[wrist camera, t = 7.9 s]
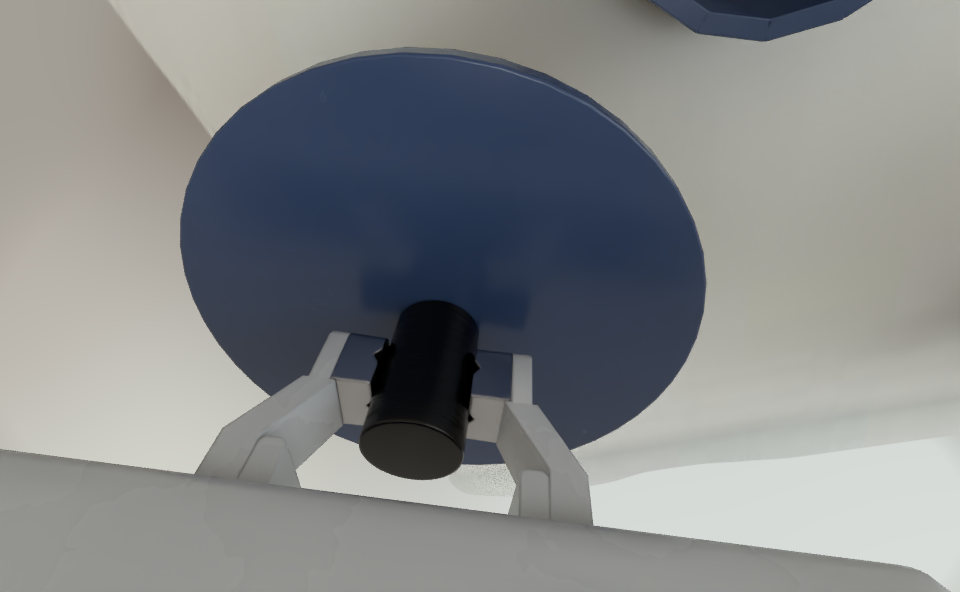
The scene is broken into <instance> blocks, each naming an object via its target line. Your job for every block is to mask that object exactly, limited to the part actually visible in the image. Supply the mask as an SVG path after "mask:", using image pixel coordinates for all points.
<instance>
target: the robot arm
mask: <svg viewBox="0 0 960 592" xmlns="http://www.w3.org/2000/svg"><path fill="white" fill-rule="evenodd" d="M388 349H389V339H387V338H383V337H376V336H369V335H363V334H356V333H347V332H341V331H334V330H333V331H332V332H331V333H330V334H329V335H328V337H327V339H326V341H325V343H324V345H323V347H322V349H321V351H320V353H319V355H318V358H317V360H316V362H315V364H314V366H313V368H312V370H311V372H310V374H309V376H305V375H303V376H301V377H300V378H298V379H297V380H295V381H294V382H292V383H290V384H289V385H287V386H286V387H284V388H283V389H281V390H280V391H278V392H277V393H275V394H274V395H272V396H271V397H269V398H268V399H266V400H265V401H263V402H262V403H260V404H258V405H257V406H256V407H254V408H252V409H251V410H249V411H248V412H246V413H245V414H243V415H242V416H240V417H239V418H237V419H236V420H234V421H233V422H231V423H229V424H228V425H227V426H225V427H223V428H222V430H221V432H220V433H219V435H218V436H217V438H216V440H215V441H214V443H213V444H212V446H211V448H210V449H209V451H208V453H207V454H206V456H205V457H204V459H203V461H202V463H201V464H200V466H199V467H198V469H197V471H196V472H195V474H188V473H180V472H172V471H165V470H157V469H149V468H142V467H134V466H126V465H119V464H111V463H103V462H95V461H88V460H80V459H72V458H64V457H57V456H49V455H41V454H34V453H26V452H18V451H11V450H10V451H9V450H3V449H0V592H950V591H949V590H947V589H946V588H945V587H943V586H942V585H941V584H940V583H938V582H937V581H936V580H934V579H933V578H932V577H931V576H929V575H928V574H926V573H924V572H922V571H920V570H916V569H914V568H911V567H906V566H901V565H895V564H887V563H880V562H872V561H864V560H856V559H848V558H841V557H833V556H825V555H817V554H809V553H801V552H794V551H786V550H778V549H770V548H763V547H755V546H747V545H739V544H732V543H723V542H716V541H709V540H701V539H693V538H685V537H677V536H670V535H661V534H654V533H646V532H638V531H631V530H623V529H615V528H608V527H600V526H593V519H592V509H591V500H590V490H589V481H588V475H587V473H586V472H585V471H584V469H583V468H582V466H581V465H580V464H579V462H578V461H577V459H576V458H575V457H574V455H573V454H572V452H571V451H570V450H569V448H568V447H567V445H566V444H565V443H564V441H563V440H562V438H561V437H560V436H559V434H558V433H557V431H556V430H555V429H554V427H553V426H552V424H551V423H550V422H549V420H548V419H547V417H546V416H545V415H544V413H543V412H542V410H541V409H540V408H539V406H538V405H533V404H532V357H531V355H522V354H514V353H513V354H512V353H506V352H498V351H489V350H480V349H476V356H475V363H474V371H473V379H472V386H471V394H470V403H469V421H468V429H467V437H466V438H467V439H473V440H480V441H486V442H493V443H496V445H497V447H498V449H499V451H500V453H501V455H502V457H503V459H504V461H505V463H506V465H507V467H508V469H509V471H510V473H511V475H512V477H513V479H514V481H515V483H516V489H515V492H514V495H513V499H512V503H511V506H510V509H509V513H508V515H506V514H499V513H491V512H483V511H476V510H468V509H459V508H452V507H445V506H437V505H429V504H421V503H413V502H406V501H398V500H390V499H381V498H374V497H366V496H359V495H351V494H342V493H335V492H327V491H319V490H312V489H304V488H301V486H300V483H299V480H298V477H297V473H296V471H295V470H296V469H297V468H298V467H299V466H300V465H301V464H302V463H303V462H304V461H305V460H307V458H309V457H310V456H311V455H312V454H313V453H314V452H315V451H316V450H317V449H318V448H319V447H320V446H321V445H323V444H324V443H325V442H326V441H327V440H328V439H329V438H330V437H331V436H332V435H333V434H334V433H335V432H336V431H337V430H339V429H340V428H341V427H342V426H343V424H353V425H363V424H364V421H365V418H366V415H367V412H368V409H369V406H370V403H371V400H372V397H373V394H374V391H375V388H376V385H377V382H378V379H379V376H380V373H381V370H382V367H383V364H384V361H385V358H386V355H387V352H388Z"/></svg>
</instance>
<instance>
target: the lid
mask: <svg viewBox="0 0 960 592" xmlns="http://www.w3.org/2000/svg"><path fill="white" fill-rule="evenodd" d="M180 248H181V254H182V260H183V266H184V272H185V276H186V279H187V282H188V285H189V288H190V291H191V294H192V297H193V300H194V302H195V304H196V306H197V308H198V310H199V312H200V314H201V316H202V318H203V320H204V322H205V323H206V325H207V327H208V328H209V330H210V332H211V333H212V335H213V336H214V338H215V339H216V341H217V342H218V344H219V345H220V346H221V348H222V349H223V350H224V351H225V352H226V354H227V355H228V356H229V357H230V358H231V360H232V361H233V362H234V363H235V365H236V366H237V367H238V368H240V369H241V370H242V371H243V372H244V373H245V374H246V375H247V376H248V377H249V378H250V379H251V380H252V381H253V382H254V383H255V384H256V385H257V386H259V387H260V388H261V389H262V390H264V391H265V392H266V393H267V394H268V395H270V396H272V395H274V394H275V393H277V392H278V391H280V390H281V389H283V388H284V387H286V386H287V385H289V384H290V383H292V382H294V381H295V380H297V379H298V378H300V377H301V376H303V375H305V376H309V374H310V372H311V370H312V368H313V366H314V364H315V362H316V360H317V358H318V355H319V353H320V351H321V349H322V347H323V345H324V343H325V341H326V339H327V337H328V335H329V334H330V333H331V332H332V331H333V330H334V331H341V332H347V333H356V334H363V335H369V336H376V337H383V338H387V339H389V349H388V352H387V355H386V358H385V361H384V364H383V367H382V370H381V373H380V376H379V379H378V382H377V385H376V388H375V391H374V394H373V397H372V400H371V403H370V406H369V409H368V412H367V415H366V418H365V421H364V424H363V425H353V424H343V426H342V427H341V428H340V429H339V430H337V431H336V432H335V433H334V434H335V435H337V436H339V437H342V438H344V439H347V440H350V441H352V442H355V443H357V444H359V448H360V451H361V453H362V455H363V456H364V457H365V458H366V460H367V461H369V462H370V463H371V464H372V465H374V466H375V467H377V468H378V469H380V470H382V471H384V472H386V473H389V474H391V475H395V476H398V477H402V478H407V479H414V480H431V479H438V478H442V477H445V476H448V475H450V474H452V473H453V472H455V471H456V470H457V469H458V468H459V467H460V466H461V464H469V465H485V464H505V461H504V459H503V457H502V455H501V453H500V451H499V449H498V447H497V445H496V443H493V442H486V441H480V440H473V439H467V438H466V437H467V429H468V421H469V403H470V394H471V386H472V379H473V371H474V363H475V356H476V349H480V350H489V351H498V352H506V353H512V354H513V353H514V354H522V355H531V357H532V404H533V405H538V406H539V408H540V409H541V410H542V412H543V413H544V415H545V416H546V417H547V419H548V420H549V422H550V423H551V424H552V426H553V427H554V429H555V430H556V431H557V433H558V434H559V436H560V437H561V438H562V440H563V441H564V443H565V444H566V445H567V447H568V448H569V450H572V449H575V448H577V447H580V446H582V445H585V444H587V443H590V442H592V441H595V440H597V439H599V438H601V437H603V436H605V435H607V434H609V433H611V432H612V431H614V430H616V429H618V428H619V427H621V426H622V425H624V424H626V423H627V422H629V421H630V420H632V419H633V418H635V417H636V416H637V415H639V414H640V413H641V412H642V411H643V410H645V409H646V408H647V407H648V406H649V405H650V404H652V403H653V402H654V401H655V400H656V399H657V398H658V397H659V396H660V395H661V394H662V392H663V391H664V390H665V389H666V388H667V387H668V386H669V385H670V384H671V382H672V381H673V380H674V378H675V377H676V375H677V374H678V372H679V371H680V369H681V368H682V366H683V365H684V363H685V362H686V360H687V358H688V356H689V353H690V351H691V349H692V347H693V345H694V343H695V340H696V338H697V335H698V331H699V327H700V324H701V320H702V316H703V313H704V304H705V293H706V274H705V264H704V253H703V249H702V246H701V242H700V239H699V235H698V232H697V229H696V225H695V222H694V220H693V217H692V215H691V213H690V211H689V209H688V207H687V205H686V203H685V201H684V199H683V197H682V195H681V193H680V191H679V189H678V187H677V185H676V184H675V182H674V180H673V179H672V177H671V176H670V175H669V173H668V172H667V171H666V169H665V168H664V166H663V165H662V164H661V162H660V161H659V160H658V158H657V157H656V155H655V154H654V153H653V151H652V150H651V149H650V148H649V147H648V146H647V145H646V144H645V143H644V142H643V141H642V140H641V139H640V138H639V137H638V136H637V135H636V134H635V133H634V132H633V131H632V130H631V129H630V128H629V127H628V126H627V125H626V124H625V123H624V122H623V121H622V120H620V119H619V118H618V117H616V116H615V115H613V114H612V113H611V112H609V111H608V110H607V109H605V108H604V107H602V106H601V105H600V104H598V103H597V102H596V101H594V100H593V99H592V98H590V97H589V96H587V95H585V94H584V93H582V92H580V91H578V90H576V89H574V88H572V87H570V86H568V85H566V84H564V83H562V82H561V81H559V80H557V79H555V78H553V77H551V76H549V75H547V74H545V73H542V72H539V71H536V70H533V69H530V68H527V67H525V66H522V65H519V64H516V63H513V62H510V61H507V60H505V59H502V58H497V57H492V56H486V55H481V54H476V53H471V52H466V51H461V50H456V49H439V48H418V47H402V48H392V49H382V50H373V51H363V52H358V53H354V54H351V55H347V56H343V57H339V58H336V59H332V60H328V61H324V62H320V63H318V64H316V65H313V66H311V67H309V68H307V69H304V70H302V71H300V72H298V73H296V74H293V75H291V76H289V77H287V78H285V79H282V80H281V81H279V82H278V83H276V84H274V85H273V86H271V87H270V88H268V89H267V90H266V91H264V92H263V93H261V94H260V95H258V96H257V97H255V98H254V99H252V100H251V101H250V102H248V103H247V104H245V105H244V106H242V107H241V108H240V109H239V110H238V111H237V112H236V113H235V114H234V115H233V116H232V117H231V118H230V119H229V120H228V121H227V122H226V123H225V124H224V125H223V126H222V127H221V128H220V129H219V130H218V131H217V132H216V133H215V135H214V136H213V138H212V139H211V141H210V143H209V144H208V145H207V147H206V149H205V150H204V152H203V153H202V155H201V156H200V158H199V159H198V161H197V163H196V166H195V168H194V171H193V174H192V176H191V178H190V181H189V183H188V186H187V188H186V193H185V198H184V203H183V208H182V213H181V220H180Z"/></svg>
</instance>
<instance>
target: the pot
mask: <svg viewBox="0 0 960 592" xmlns="http://www.w3.org/2000/svg"><path fill="white" fill-rule="evenodd" d="M648 1H650V2H651V3H652V4H654V5H655V6H657V7H658V8H660V9H661V10H662V11H664V12H665V13H667V14H668V15H670V16H671V17H673V18H674V19H676V20H677V21H679V22H680V23H682V24H683V25H684V26H686V27H687V28H689V29H690V30H692V31H693V32H695V33H698V34H704V35H712V36H721V37H729V38H737V39H745V40H753V41H761V42H763V41H769V40H773V39H776V38H780V37H784V36H787V35H791V34H794V33H798V32H801V31H805V30H808V29H812V28H815V27H819V26H822V25H826V24H829V23H833V22H836V21H840V20H842V19H843V18H845V17H847V16H849V15H850V14H852V13H853V12H855V11H856V10H858V9H860V8H861V7H863V6H864V5H866V4H867V3H869V2H870V1H872V0H648Z"/></svg>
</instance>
